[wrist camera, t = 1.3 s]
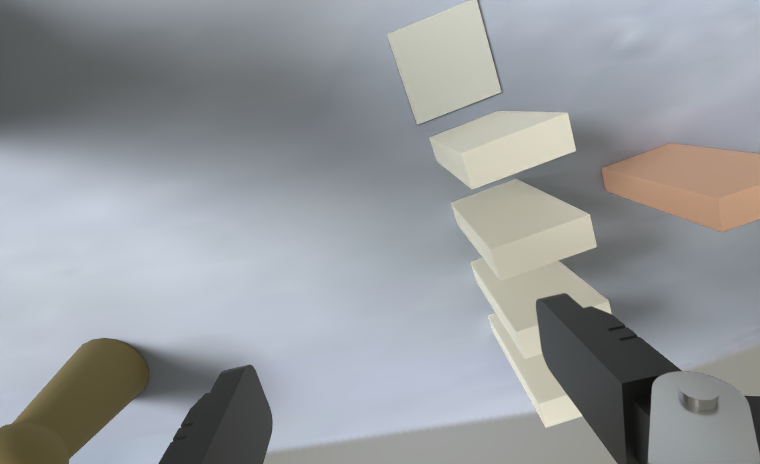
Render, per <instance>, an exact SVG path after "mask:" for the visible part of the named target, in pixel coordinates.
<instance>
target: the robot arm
mask: <svg viewBox="0 0 760 464" xmlns="http://www.w3.org/2000/svg"><path fill="white" fill-rule="evenodd" d="M536 312H537V320H538V328H539V336H540V343H541V350H542V354H543V357H544V360H545V362H546V365H547V367H548V369H549V370H550V372H551V373H552V375H553V376H554V377H555V379H556V380H557V381H558V383H559V384H560V385H561V387H562V388H563V390H564V391H565V392H566V394H567V395H568V396H569V398H570V399H571V401H572V402H573V403H574V405H575V406H576V407H577V409H578V410H579V411H580V413H581V414H582V416H583V417H584V418H585V420H586V421H587V422H588V424H589V425H590V426H591V428H592V429H593V431H594V432H595V433H596V435H597V436H598V437H599V439H600V440H601V441H602V443H603V444H604V446H605V447H606V448H607V450H608V451H609V452H610V454H611V455H612V457H613V458H614V459H615V461H616V462H617V463H618V464H760V396H744V395H743V394H742V393H741V392H740V391H739V390H737V389H736V388H735V387H733V386H732V385H730V384H728V383H726V382H724V381H723V380H720V379H718V378H715V377H713V376H710V375H706V374H702V373H697V372H689V371H681V370H680V369H679V368H678V367H676V366H675V365H674V364H673V363H671V362H670V361H669V360H668V359H666V358H665V357H664V356H663V355H661V354H660V353H659V352H658V351H656V350H655V349H654V348H653V347H651V346H650V345H649V344H648V343H646V342H645V341H644V340H643V339H641V338H640V337H639V338H638V337H637V335H636V334H635V333H634V332H633V331H632V330H630V329H629V328H626V327H625V325H624V324H623V323H622V322H620V321H619V320H618V319H617V318H615V317H614V316H613V315H612V314H610V313H607V312H605V311H602V310H600V309H597V308H595V307H592V306H590V307H585V308H583V307H582V306H580V305H579V304H578V303H577V302H576V301H575V300H574V299H572V298H571V297H570V296H569V295H568V294H566V293H562V294H557V295H553V296H549V297H544V298H540V299H537V301H536ZM271 433H272V414H271V410H270V407H269V404H268V402H267V399H266V396H265V394H264V391H263V389H262V386H261V383H260V381H259V378H258V376H257V373H256V371H255V369H254V367H253V366H252V365H246V366H242V367H237V368H233V369H229V370H224V371H222V372H221V374H220V375H219V377H218V379H217V381H216V383H215V385H214V386H213V388H212V390H211V392H210V393H206V394H205V395H204V396H203V397H202V398H201V399H200V400H199V401H198V402H197V403H196V404H195V405H194V406H193V407H192V408H191V409H190V410H189V412H188V414H187V416H186V417H185V419H184V421H183V422H182V424H181V428H179V429H178V431H177V433H176V434H175V436H174V438H173V442H171V443H170V445H169V447H168V448H167V450H166V452H165V453H164V455H163V457H162V459H161V460H160V462H159V464H263V462H264V458H265V455H266V451H267V448H268V444H269V441H270V437H271Z"/></svg>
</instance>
